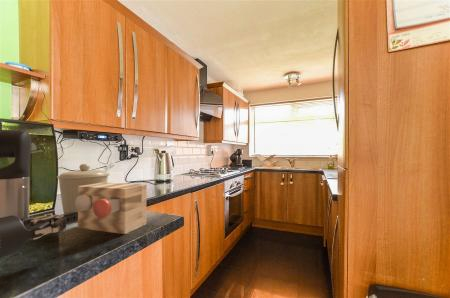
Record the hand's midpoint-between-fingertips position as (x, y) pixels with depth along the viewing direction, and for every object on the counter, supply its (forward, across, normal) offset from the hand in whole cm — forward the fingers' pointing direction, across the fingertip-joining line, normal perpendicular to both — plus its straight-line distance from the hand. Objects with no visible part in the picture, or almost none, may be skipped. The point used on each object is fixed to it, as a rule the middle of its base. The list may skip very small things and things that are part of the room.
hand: (75, 215), depth 56 cm
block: (+18, +6, +9) cm, 21 cm away
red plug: (+11, 0, +3) cm, 12 cm away
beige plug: (+15, +12, +3) cm, 19 cm away
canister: (+25, +28, +9) cm, 38 cm away
